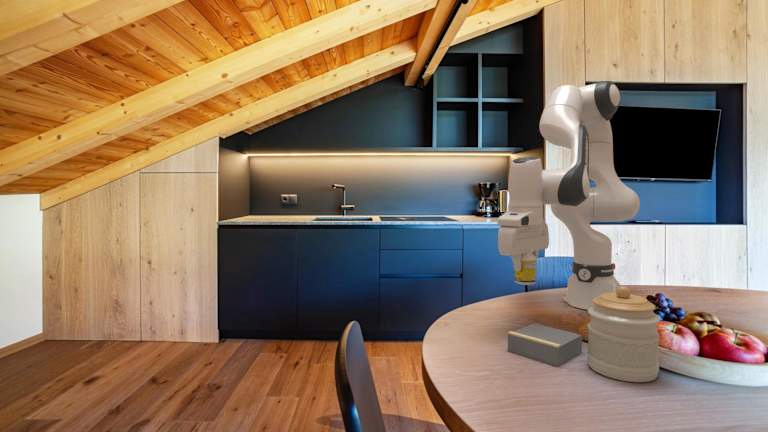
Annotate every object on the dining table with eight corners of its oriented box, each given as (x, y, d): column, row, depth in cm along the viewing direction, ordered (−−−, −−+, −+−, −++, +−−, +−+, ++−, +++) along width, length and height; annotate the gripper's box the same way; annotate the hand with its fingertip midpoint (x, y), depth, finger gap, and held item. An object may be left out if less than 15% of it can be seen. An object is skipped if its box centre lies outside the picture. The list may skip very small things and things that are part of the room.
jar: (616, 354, 93) (618, 278, 92) (674, 377, 81) (676, 290, 80) (573, 362, 89) (574, 282, 88) (627, 388, 77) (628, 296, 76)
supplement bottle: (511, 281, 112) (511, 245, 112) (530, 280, 113) (530, 245, 112) (519, 285, 107) (519, 248, 106) (539, 284, 107) (539, 248, 107)
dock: (533, 338, 104) (533, 321, 103) (581, 351, 95) (582, 333, 94) (507, 350, 96) (507, 332, 96) (557, 366, 87) (557, 346, 87)
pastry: (598, 346, 99) (598, 331, 98) (570, 339, 104) (570, 325, 103) (612, 337, 105) (612, 322, 105) (584, 331, 110) (585, 317, 110)
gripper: (534, 215, 118) (533, 262, 119) (493, 219, 104) (493, 272, 105) (555, 215, 113) (554, 265, 114) (515, 220, 100) (515, 275, 100)
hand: (525, 268), depth 109 cm, fingers closed on supplement bottle, 5 cm apart
